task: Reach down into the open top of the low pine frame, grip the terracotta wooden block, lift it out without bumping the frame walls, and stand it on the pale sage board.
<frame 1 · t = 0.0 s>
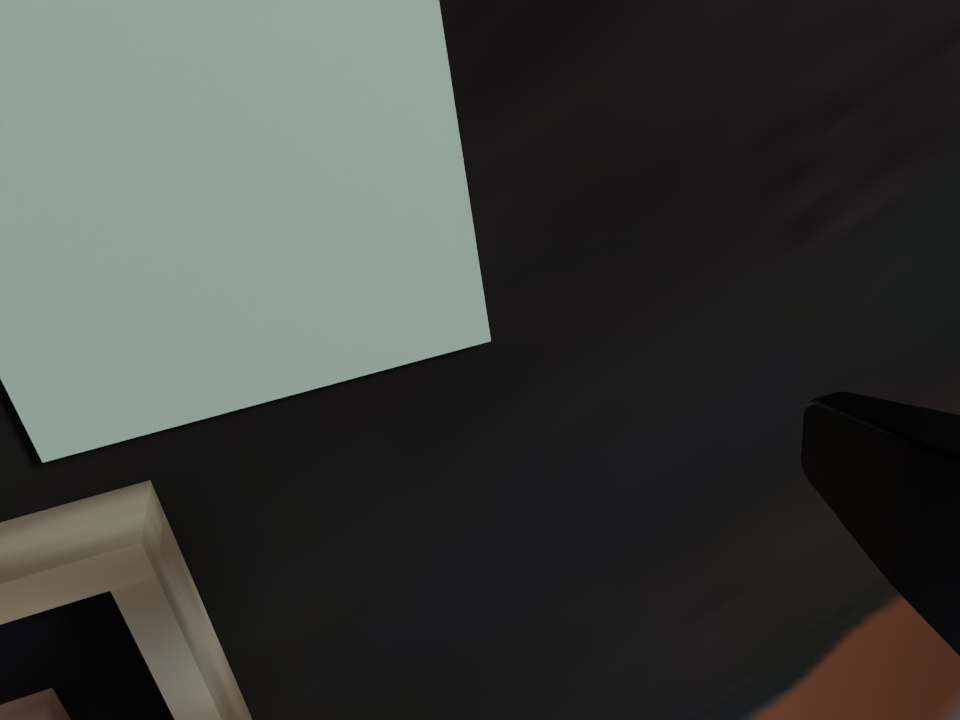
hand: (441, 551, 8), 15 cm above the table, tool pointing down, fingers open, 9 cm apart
sage board: (212, 172, 19), on the table
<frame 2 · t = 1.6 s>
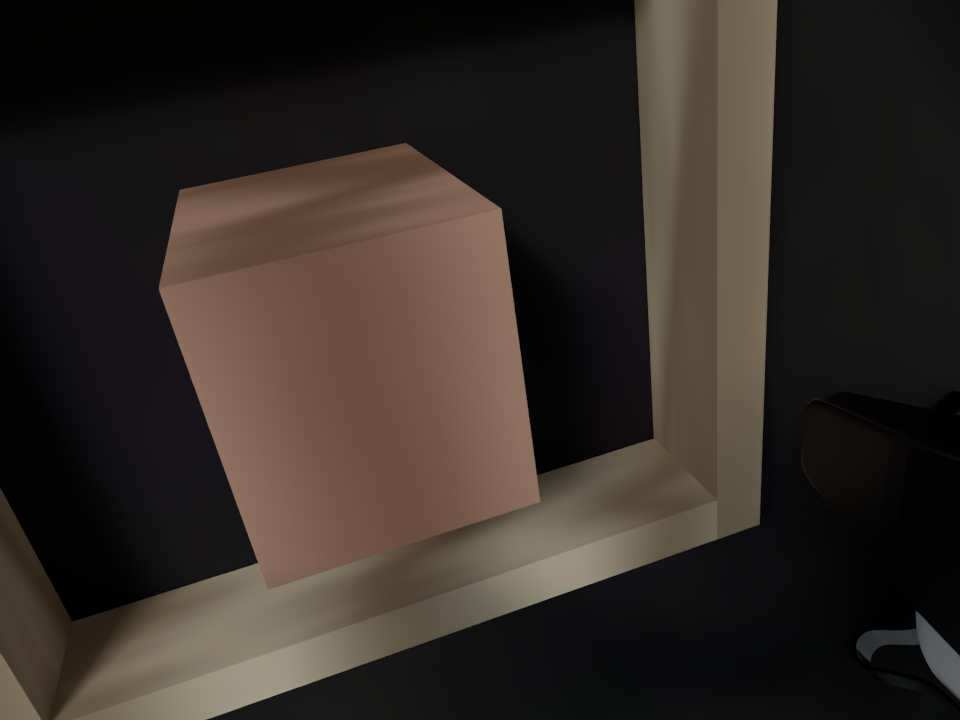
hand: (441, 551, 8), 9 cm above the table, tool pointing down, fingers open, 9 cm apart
pine frame: (326, 283, 16), on the table
terracotta block: (346, 334, 13), in the pine frame
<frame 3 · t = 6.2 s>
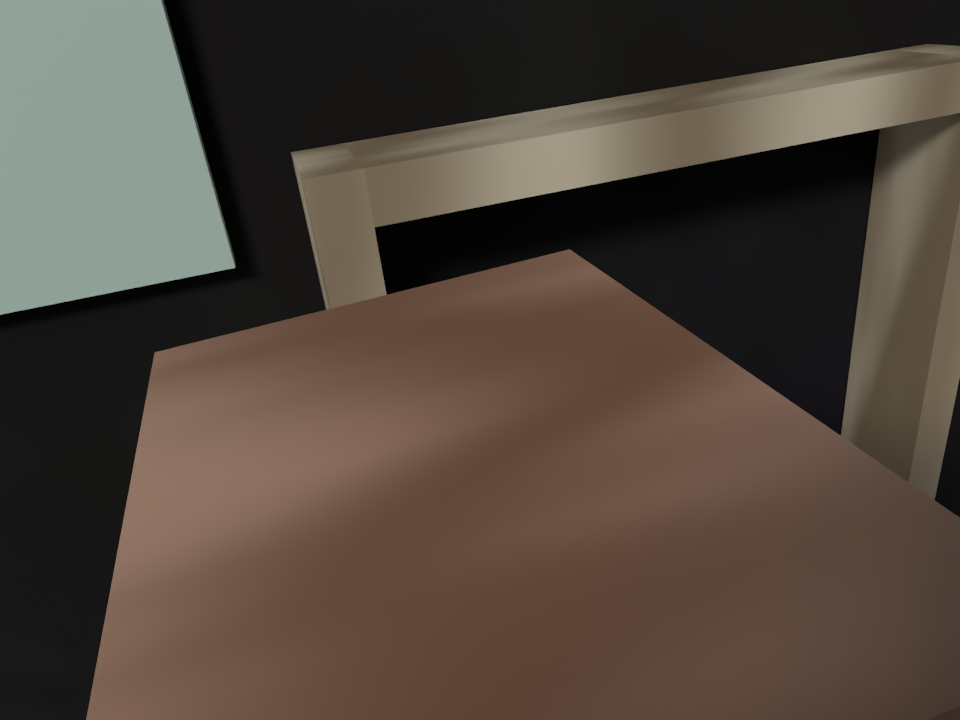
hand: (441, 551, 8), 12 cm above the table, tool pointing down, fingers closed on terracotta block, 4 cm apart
pine frame: (643, 363, 22), on the table
terracotta block: (494, 677, 7), point 14 cm above the table, touching gripper
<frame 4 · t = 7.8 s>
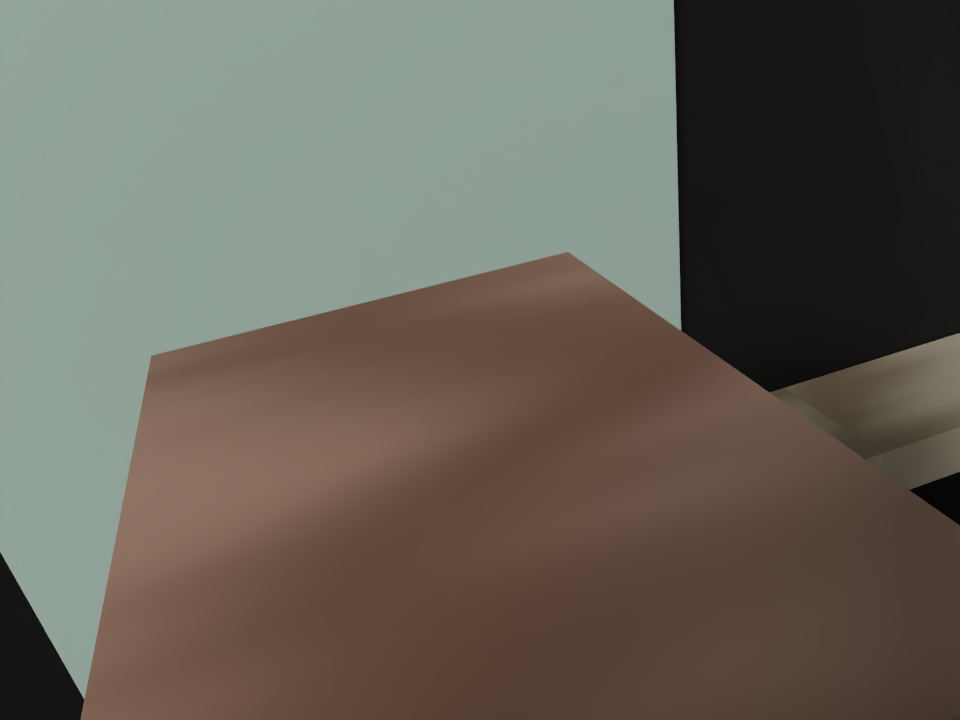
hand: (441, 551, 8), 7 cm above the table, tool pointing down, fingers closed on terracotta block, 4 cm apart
terracotta block: (492, 682, 7), point 8 cm above the table, touching gripper
sage board: (342, 324, 14), on the table
when the fingers open (3 cm above the table, at t = 9.1 s): terracotta block drops 1 cm, resting on sage board.
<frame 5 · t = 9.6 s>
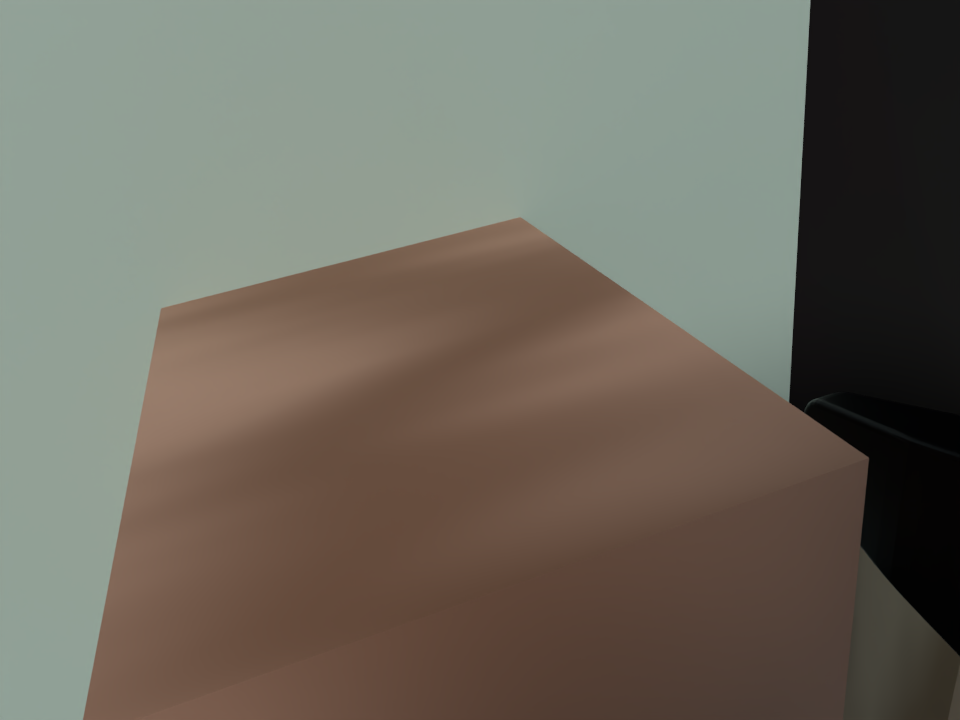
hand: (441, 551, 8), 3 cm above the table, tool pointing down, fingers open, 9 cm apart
terracotta block: (450, 570, 8), on the sage board, point 4 cm above the table
sage board: (378, 404, 11), on the table
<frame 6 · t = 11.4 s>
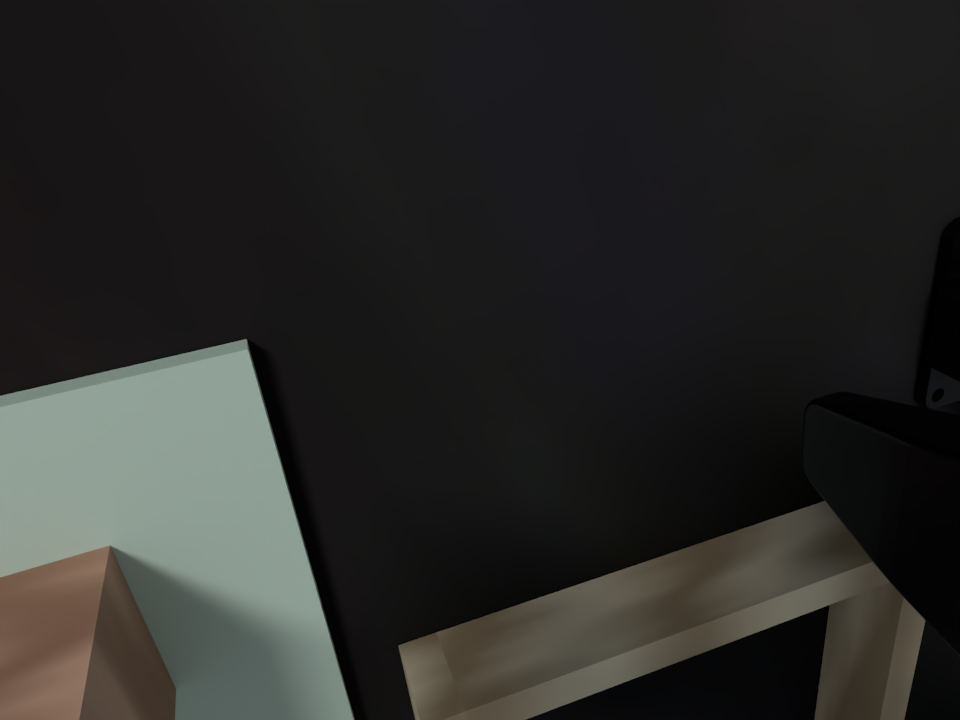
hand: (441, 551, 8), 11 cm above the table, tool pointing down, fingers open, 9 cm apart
pine frame: (656, 715, 28), on the table
sage board: (49, 632, 19), on the table
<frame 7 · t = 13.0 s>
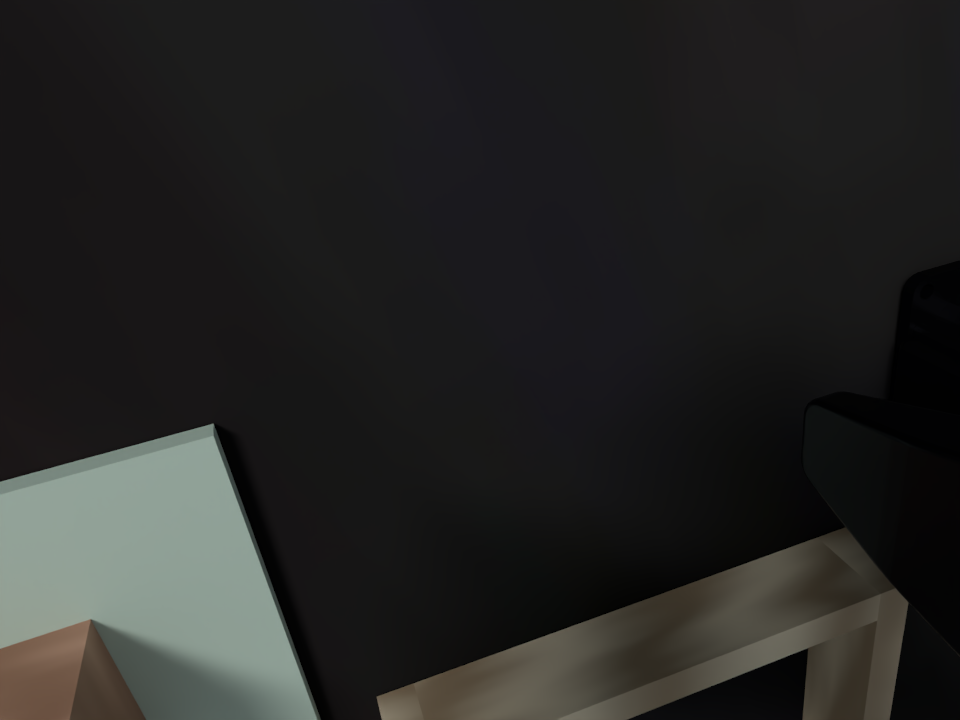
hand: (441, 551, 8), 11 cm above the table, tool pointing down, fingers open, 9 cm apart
sage board: (38, 697, 20), on the table
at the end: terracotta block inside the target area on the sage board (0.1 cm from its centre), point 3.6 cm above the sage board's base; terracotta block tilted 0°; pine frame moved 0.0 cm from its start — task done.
